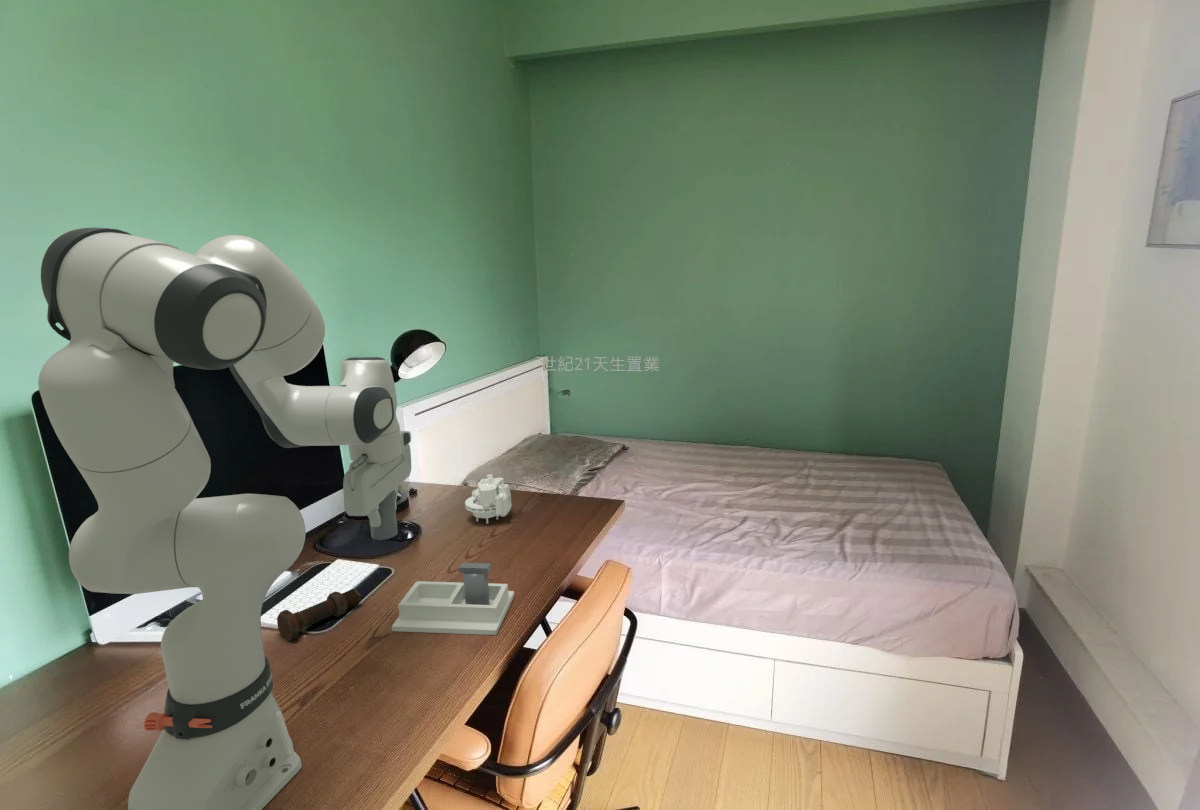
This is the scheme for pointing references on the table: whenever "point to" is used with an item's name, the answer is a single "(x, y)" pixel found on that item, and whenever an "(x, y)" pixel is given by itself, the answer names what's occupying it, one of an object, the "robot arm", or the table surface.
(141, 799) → the robot arm
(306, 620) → the bolt
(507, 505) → the mechanical part
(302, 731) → the table surface
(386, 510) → the grey upright cylinder
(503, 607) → the housing
